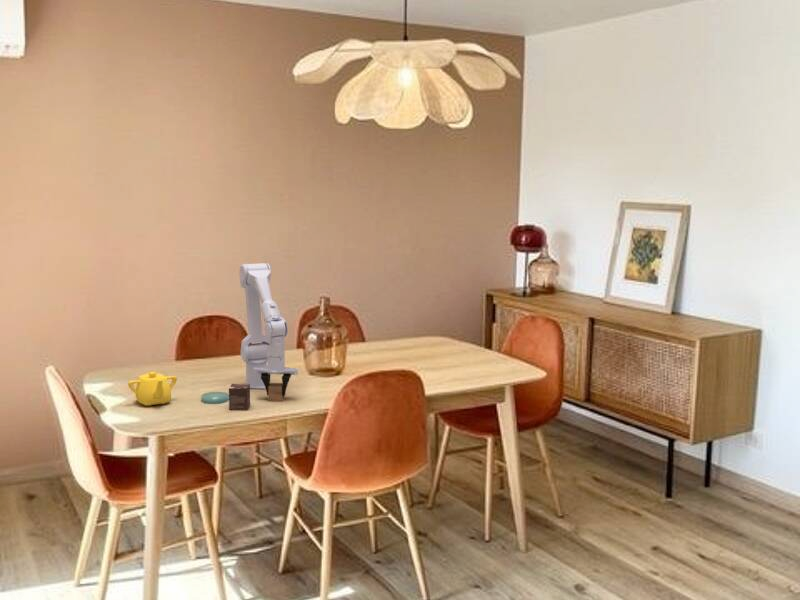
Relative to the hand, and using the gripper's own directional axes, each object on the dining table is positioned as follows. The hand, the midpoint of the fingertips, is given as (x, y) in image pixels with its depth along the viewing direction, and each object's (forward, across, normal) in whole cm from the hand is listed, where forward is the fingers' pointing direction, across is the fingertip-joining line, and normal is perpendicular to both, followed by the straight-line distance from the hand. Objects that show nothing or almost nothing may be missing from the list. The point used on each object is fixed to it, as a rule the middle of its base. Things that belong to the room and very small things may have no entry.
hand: (276, 395), depth 276 cm
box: (+2, -10, -11) cm, 15 cm away
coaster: (+2, -20, -3) cm, 20 cm away
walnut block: (+1, 0, 0) cm, 1 cm away
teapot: (+2, -39, -8) cm, 40 cm away
